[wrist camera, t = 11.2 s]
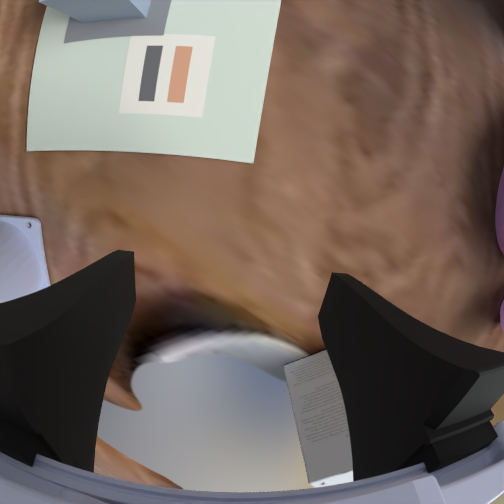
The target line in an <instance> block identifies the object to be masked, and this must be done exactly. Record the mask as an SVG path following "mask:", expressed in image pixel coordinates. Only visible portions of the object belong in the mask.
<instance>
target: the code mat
mask: <svg viewBox="0 0 504 504" xmlns="http://www.w3.org/2000/svg"><path fill="white" fill-rule="evenodd" d="M280 4H281V0H151V3H150V6H149V10H148V14H147V18H130V19H114V20H103V21H93V22H85V23H82V22H80V21H78V20H76V19H74V18H72V17H70V16H68V15H66V14H64V13H62V12H59V11H57V10H55V9H53V8H51V7H49V6H47V7H46V11H45V15H44V18H43V22H42V26H41V30H40V35H39V39H38V44H37V49H36V54H35V60H34V66H33V72H32V79H31V87H30V96H29V107H28V122H27V151H51V150H93V151H125V152H144V153H160V154H173V155H184V156H195V157H205V158H214V159H223V160H231V161H239V162H247V163H253V162H254V156H255V149H256V143H257V137H258V131H259V125H260V119H261V113H262V107H263V101H264V95H265V89H266V83H267V78H268V72H269V66H270V60H271V54H272V49H273V43H274V37H275V32H276V26H277V20H278V15H279V9H280Z"/></svg>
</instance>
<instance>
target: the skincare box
mask: <svg viewBox="0 0 504 504" xmlns="http://www.w3.org/2000/svg"><path fill="white" fill-rule="evenodd" d="M284 372H285V377H286V381H287V385H288V390H289V394H290V398H291V403H292V408H293V413H294V417H295V422H296V427H297V431H298V436H299V440H300V445H301V449H302V454H303V458H304V462H305V467H306V472H307V477H308V483H309V484H311V485H312V486H313V487H314V488H317V487H324V486H330V485H337V484H342V483H348V482H353V464H352V452H351V442H350V434H349V428H348V422H347V416H346V411H345V406H344V401H343V397H342V393H341V389H340V386H339V383H338V380H337V377H336V375H335V372H334V369H333V366H332V364H331V361H330V358H329V356H328V353H327V350H324V351H322V352H319V353H316V354H314V355H311V356H309V357H306V358H303V359H301V360H298V361H295V362H292V363H289V364H286V365H284Z"/></svg>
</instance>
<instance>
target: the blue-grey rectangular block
mask: <svg viewBox="0 0 504 504" xmlns="http://www.w3.org/2000/svg"><path fill="white" fill-rule="evenodd" d="M39 3H42V4H44V5H46V6H49V7H51V8H53V9H55V10H57V11H59V12H62V13H64V14H66V15H68V16H70V17H72V18H74V19H76V20H78V21H80V22H82V23H85V22H93V21H103V20H114V19H130V18H147V14H148V10H149V6H150V3H151V0H39Z"/></svg>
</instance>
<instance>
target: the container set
mask: <svg viewBox="0 0 504 504" xmlns="http://www.w3.org/2000/svg"><path fill="white" fill-rule="evenodd" d="M495 228H496V236H497V241H498V244H499V248H500V250H501V251H502V253H503V255H504V167H503V171H502V174H501V178H500V182H499V188H498V193H497V200H496V210H495ZM500 322H501V327H502V330H503V332H504V300H503V302H502V305H501V308H500Z"/></svg>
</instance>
